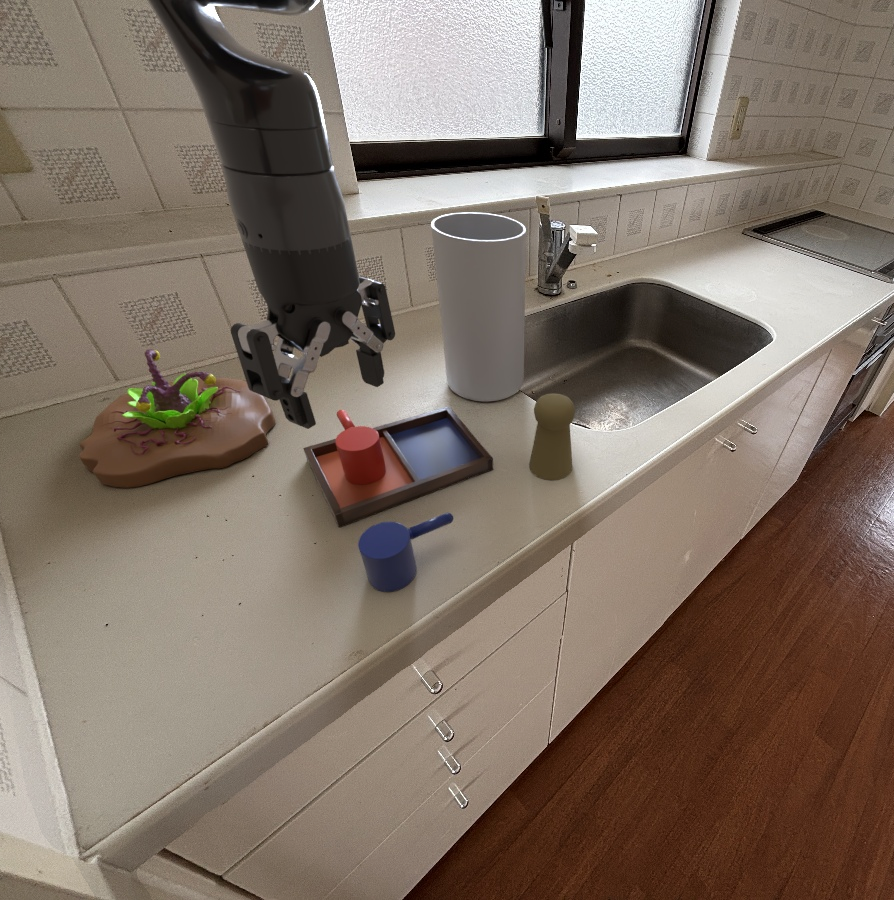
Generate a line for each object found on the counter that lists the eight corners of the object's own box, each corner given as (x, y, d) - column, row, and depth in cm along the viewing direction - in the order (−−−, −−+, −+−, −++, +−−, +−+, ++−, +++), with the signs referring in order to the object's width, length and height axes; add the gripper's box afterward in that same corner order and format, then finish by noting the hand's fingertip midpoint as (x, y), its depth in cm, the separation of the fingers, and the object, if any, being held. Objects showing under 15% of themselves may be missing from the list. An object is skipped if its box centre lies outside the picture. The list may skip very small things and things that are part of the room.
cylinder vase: (522, 364, 89) (524, 216, 73) (525, 403, 80) (527, 244, 64) (450, 362, 87) (435, 209, 71) (444, 403, 77) (426, 237, 61)
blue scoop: (377, 600, 50) (367, 566, 47) (362, 567, 53) (351, 533, 50) (465, 559, 55) (462, 526, 52) (447, 531, 58) (443, 498, 55)
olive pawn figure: (545, 486, 66) (549, 419, 59) (520, 460, 69) (521, 394, 62) (581, 469, 69) (588, 404, 62) (555, 446, 72) (560, 382, 65)
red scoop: (391, 476, 63) (384, 442, 59) (352, 490, 60) (342, 455, 57) (366, 435, 68) (358, 402, 65) (329, 446, 66) (318, 412, 62)
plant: (271, 380, 77) (246, 312, 70) (280, 457, 64) (251, 384, 57) (102, 406, 68) (54, 331, 61) (75, 501, 55) (10, 420, 48)
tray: (338, 527, 57) (334, 515, 55) (307, 460, 64) (303, 447, 63) (493, 469, 67) (492, 457, 66) (450, 417, 75) (448, 406, 73)
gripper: (246, 266, 32) (310, 455, 43) (399, 222, 43) (421, 382, 53) (167, 240, 34) (246, 427, 44) (332, 203, 45) (366, 361, 55)
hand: (341, 402), depth 49 cm, fingers open, 8 cm apart
